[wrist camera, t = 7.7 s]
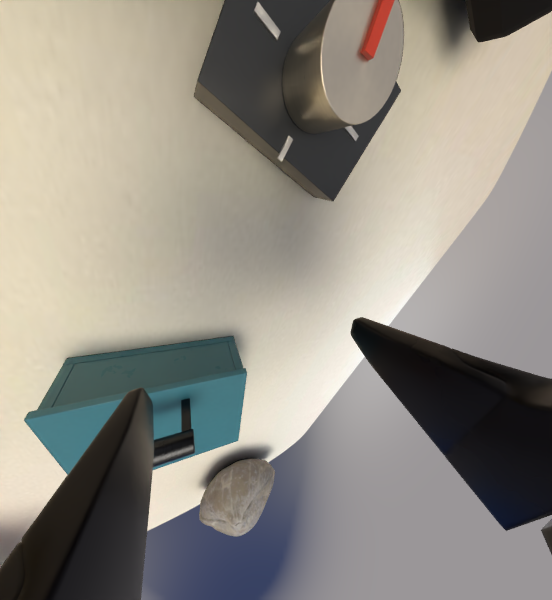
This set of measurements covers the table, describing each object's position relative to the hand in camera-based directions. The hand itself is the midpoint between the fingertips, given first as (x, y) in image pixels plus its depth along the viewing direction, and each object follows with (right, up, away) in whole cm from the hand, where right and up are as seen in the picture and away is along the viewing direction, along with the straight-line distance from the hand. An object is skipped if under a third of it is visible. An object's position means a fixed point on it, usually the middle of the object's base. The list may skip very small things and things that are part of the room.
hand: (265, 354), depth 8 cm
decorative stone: (-7, -36, +36) cm, 52 cm away
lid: (-10, -10, +11) cm, 18 cm away
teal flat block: (-12, -7, +15) cm, 21 cm away
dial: (+3, +15, +3) cm, 16 cm away
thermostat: (+2, +17, +6) cm, 18 cm away
